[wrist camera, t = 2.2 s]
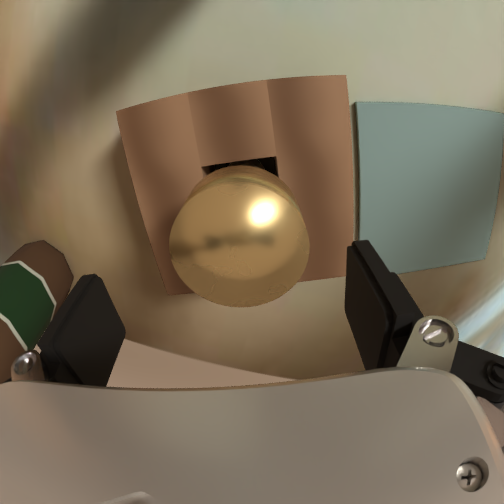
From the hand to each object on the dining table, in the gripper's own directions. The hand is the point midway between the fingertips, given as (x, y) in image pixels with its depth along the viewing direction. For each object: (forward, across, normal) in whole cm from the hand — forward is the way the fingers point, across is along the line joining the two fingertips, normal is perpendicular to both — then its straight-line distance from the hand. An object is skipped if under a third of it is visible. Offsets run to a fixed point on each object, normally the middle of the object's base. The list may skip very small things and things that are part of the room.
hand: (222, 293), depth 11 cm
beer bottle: (+15, +22, +6) cm, 28 cm away
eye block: (+14, -1, 0) cm, 15 cm away
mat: (+14, -18, +3) cm, 23 cm away
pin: (+14, -1, 0) cm, 15 cm away
